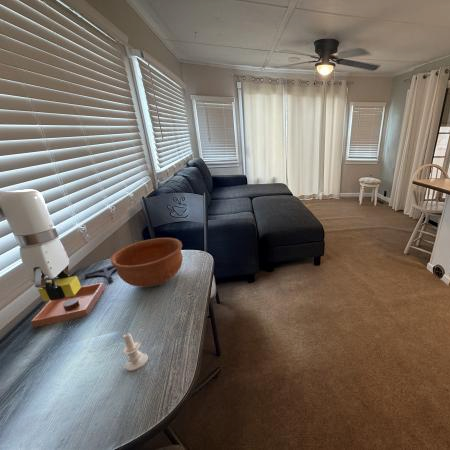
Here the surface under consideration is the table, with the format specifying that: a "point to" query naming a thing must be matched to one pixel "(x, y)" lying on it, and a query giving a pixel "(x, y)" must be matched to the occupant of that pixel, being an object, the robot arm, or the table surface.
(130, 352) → the chess piece
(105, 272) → the bracket
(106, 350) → the table surface
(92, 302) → the pan
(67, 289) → the sponge
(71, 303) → the food scrap
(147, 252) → the bowl
